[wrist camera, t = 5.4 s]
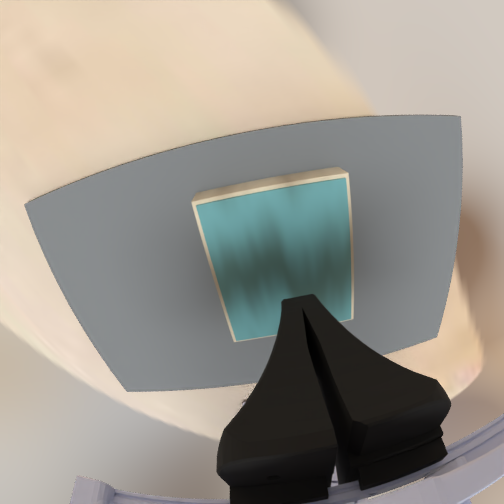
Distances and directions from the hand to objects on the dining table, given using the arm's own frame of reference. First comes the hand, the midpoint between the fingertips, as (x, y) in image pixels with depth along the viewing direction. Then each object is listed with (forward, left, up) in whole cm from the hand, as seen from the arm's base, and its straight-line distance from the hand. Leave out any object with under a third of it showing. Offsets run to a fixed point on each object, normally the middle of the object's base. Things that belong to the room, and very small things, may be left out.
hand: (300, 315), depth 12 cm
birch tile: (0, -4, -5) cm, 6 cm away
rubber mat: (-2, +1, -6) cm, 6 cm away
